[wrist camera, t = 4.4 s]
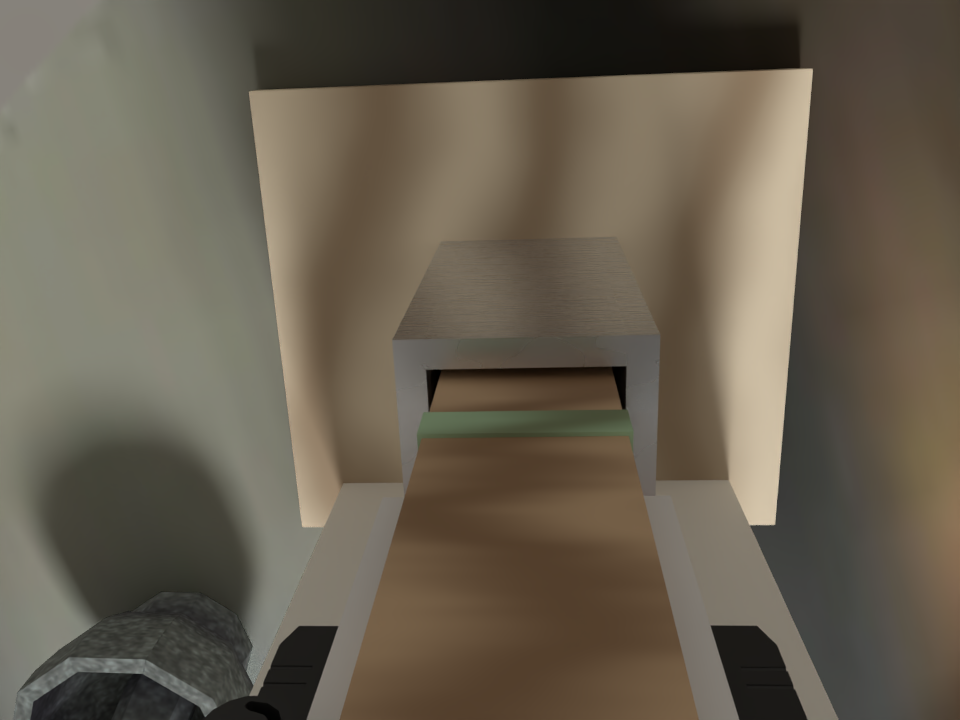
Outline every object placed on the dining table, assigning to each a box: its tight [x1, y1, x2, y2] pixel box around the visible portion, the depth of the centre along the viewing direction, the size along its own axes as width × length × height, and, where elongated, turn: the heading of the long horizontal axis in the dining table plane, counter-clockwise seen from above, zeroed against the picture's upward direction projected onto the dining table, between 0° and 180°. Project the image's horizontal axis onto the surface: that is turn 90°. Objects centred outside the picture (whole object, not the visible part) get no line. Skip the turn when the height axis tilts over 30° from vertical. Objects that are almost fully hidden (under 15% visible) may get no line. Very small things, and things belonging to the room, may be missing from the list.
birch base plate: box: [249, 68, 813, 527], centre depth 34 cm, size 20×18×2 cm
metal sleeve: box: [392, 237, 660, 497], centre depth 28 cm, size 7×7×12 cm
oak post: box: [339, 366, 699, 720], centre depth 21 cm, size 5×5×24 cm
